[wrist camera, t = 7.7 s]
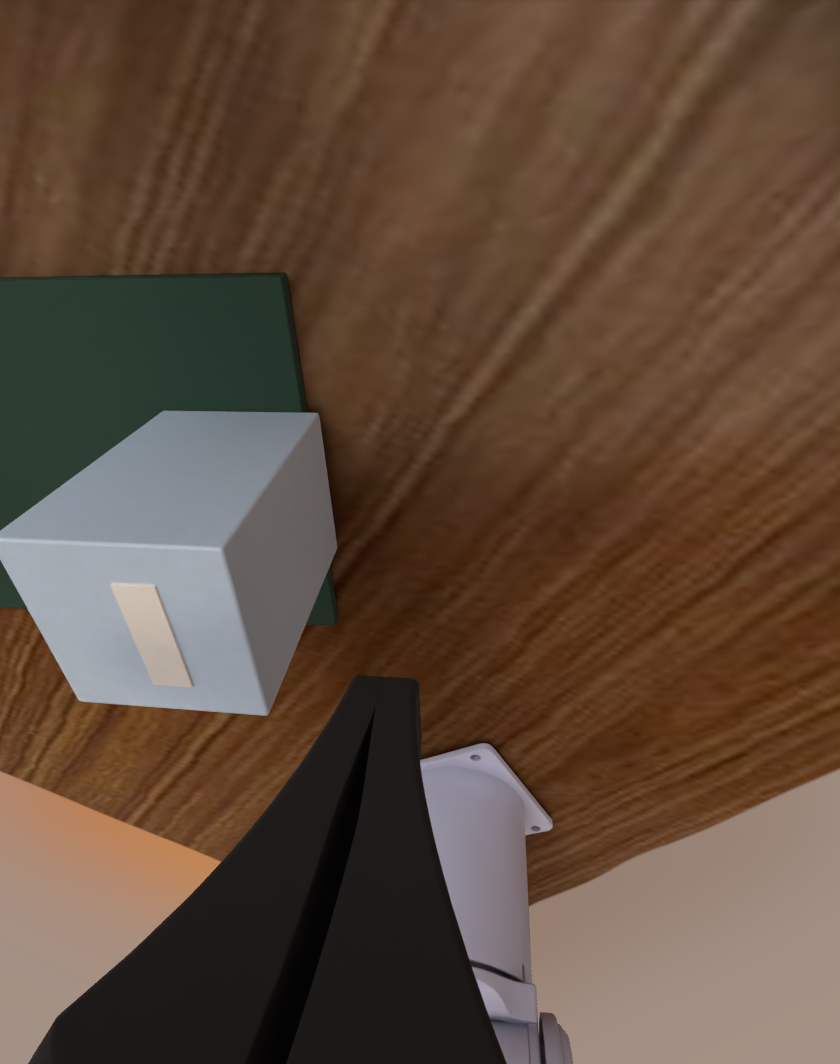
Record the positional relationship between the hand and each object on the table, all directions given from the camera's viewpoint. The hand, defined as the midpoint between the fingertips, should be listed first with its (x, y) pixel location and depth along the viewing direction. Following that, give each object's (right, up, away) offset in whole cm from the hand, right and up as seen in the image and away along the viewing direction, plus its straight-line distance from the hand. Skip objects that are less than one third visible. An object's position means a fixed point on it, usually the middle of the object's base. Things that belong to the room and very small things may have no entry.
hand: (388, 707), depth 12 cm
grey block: (-6, +3, +5) cm, 8 cm away
